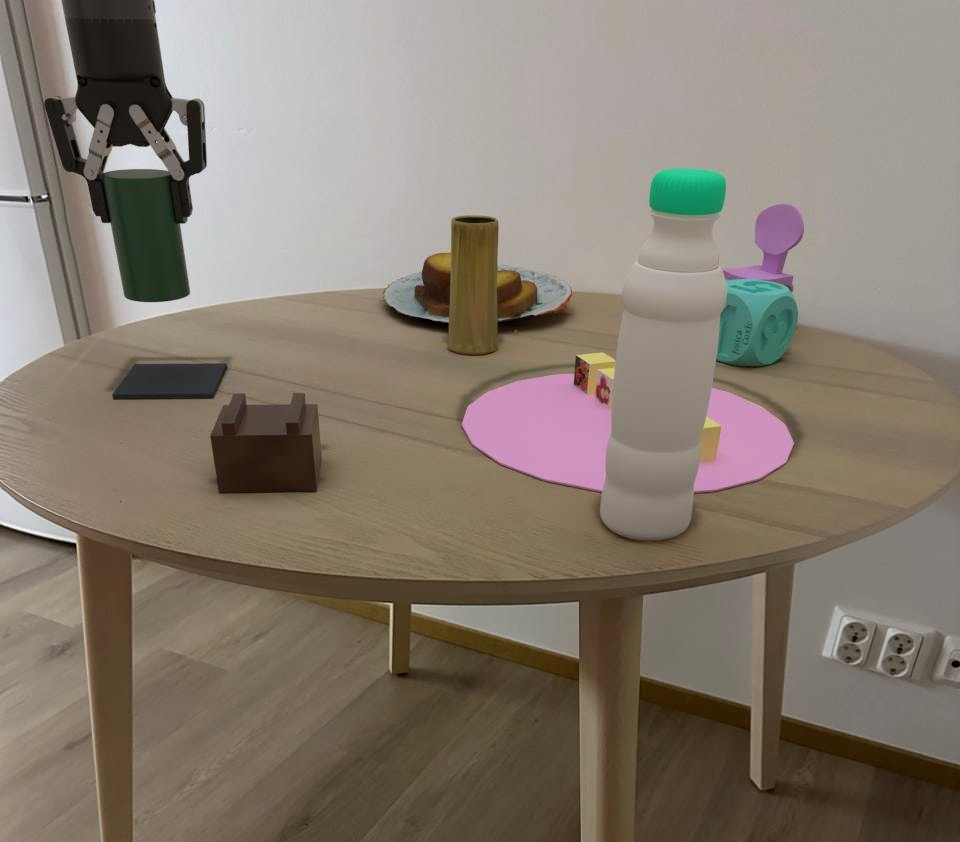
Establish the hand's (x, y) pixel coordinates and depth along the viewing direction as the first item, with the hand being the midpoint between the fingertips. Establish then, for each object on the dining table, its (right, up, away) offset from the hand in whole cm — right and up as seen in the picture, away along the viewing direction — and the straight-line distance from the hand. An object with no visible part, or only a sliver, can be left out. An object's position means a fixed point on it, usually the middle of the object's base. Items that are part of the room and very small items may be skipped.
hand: (145, 221), depth 89 cm
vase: (+32, -6, +21) cm, 39 cm away
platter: (+47, -20, +1) cm, 51 cm away
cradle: (+15, -26, -10) cm, 32 cm away
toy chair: (+67, -1, +29) cm, 73 cm away
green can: (0, -1, +1) cm, 1 cm away
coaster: (0, -13, +9) cm, 16 cm away
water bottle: (+45, -32, -17) cm, 58 cm away
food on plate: (+32, +4, +37) cm, 49 cm away
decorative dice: (+64, -7, +21) cm, 67 cm away
